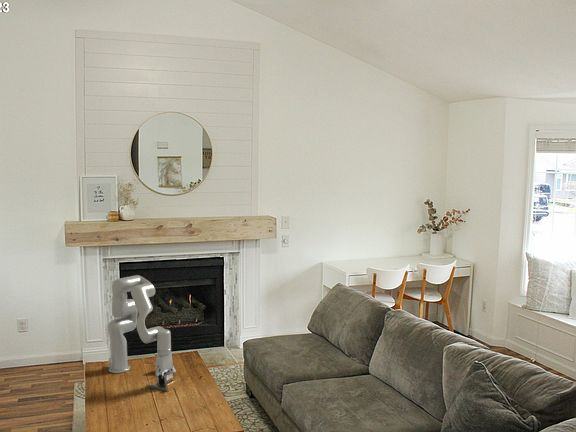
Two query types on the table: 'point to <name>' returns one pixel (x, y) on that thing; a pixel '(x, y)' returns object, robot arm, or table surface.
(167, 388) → the receiver
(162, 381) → the robot arm
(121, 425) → the table surface
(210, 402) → the table surface
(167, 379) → the block
